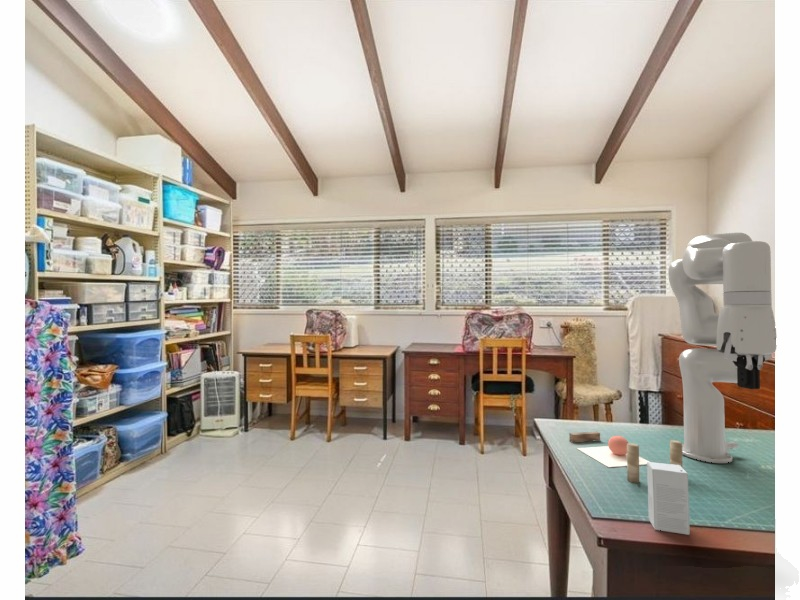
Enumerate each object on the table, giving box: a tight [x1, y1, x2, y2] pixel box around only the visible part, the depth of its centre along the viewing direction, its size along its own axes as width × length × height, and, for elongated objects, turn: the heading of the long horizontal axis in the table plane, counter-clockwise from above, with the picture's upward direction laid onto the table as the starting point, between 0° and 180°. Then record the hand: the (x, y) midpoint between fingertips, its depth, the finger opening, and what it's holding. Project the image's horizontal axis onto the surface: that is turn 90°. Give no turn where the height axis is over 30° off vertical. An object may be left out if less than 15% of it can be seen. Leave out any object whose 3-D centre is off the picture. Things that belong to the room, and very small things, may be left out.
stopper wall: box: [569, 431, 601, 443], centre depth 125 cm, size 10×2×2 cm, turn 99°
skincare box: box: [646, 461, 691, 536], centre depth 76 cm, size 6×4×12 cm
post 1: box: [626, 442, 640, 484], centre depth 96 cm, size 3×3×9 cm
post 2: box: [669, 439, 684, 469], centre depth 98 cm, size 3×3×9 cm
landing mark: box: [576, 445, 650, 469], centre depth 112 cm, size 14×14×1 cm
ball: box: [607, 435, 629, 455], centre depth 113 cm, size 6×6×6 cm
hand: (748, 387), depth 79 cm, fingers closed
